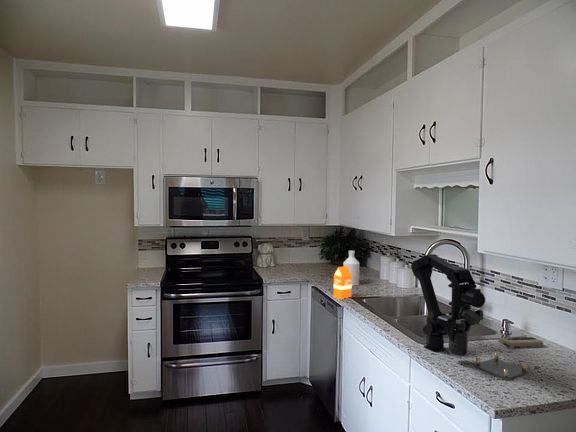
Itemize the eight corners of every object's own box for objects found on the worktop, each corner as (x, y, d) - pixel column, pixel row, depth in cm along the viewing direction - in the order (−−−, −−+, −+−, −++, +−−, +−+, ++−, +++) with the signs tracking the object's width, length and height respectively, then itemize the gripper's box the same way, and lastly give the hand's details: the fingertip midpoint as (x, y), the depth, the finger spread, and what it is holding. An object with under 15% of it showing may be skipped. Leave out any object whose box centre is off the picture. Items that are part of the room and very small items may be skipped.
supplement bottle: (471, 355, 148) (471, 325, 148) (453, 356, 148) (454, 325, 148) (462, 348, 155) (462, 319, 155) (445, 349, 155) (446, 319, 154)
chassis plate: (474, 366, 148) (474, 357, 148) (495, 359, 154) (495, 351, 154) (506, 380, 137) (506, 371, 137) (528, 373, 143) (528, 364, 143)
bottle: (359, 286, 280) (359, 252, 279) (342, 285, 282) (343, 251, 281) (359, 282, 292) (359, 250, 291) (343, 282, 294) (343, 249, 293)
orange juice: (333, 296, 250) (333, 266, 249) (342, 294, 256) (343, 265, 255) (341, 299, 244) (342, 268, 243) (351, 297, 249) (352, 266, 248)
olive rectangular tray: (530, 341, 176) (530, 334, 176) (543, 348, 168) (543, 340, 168) (497, 342, 174) (498, 335, 174) (510, 349, 166) (510, 342, 166)
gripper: (460, 309, 139) (459, 351, 140) (493, 302, 148) (492, 342, 149) (436, 301, 149) (435, 341, 150) (468, 296, 158) (467, 333, 159)
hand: (458, 339), depth 151 cm, fingers closed on supplement bottle, 7 cm apart
